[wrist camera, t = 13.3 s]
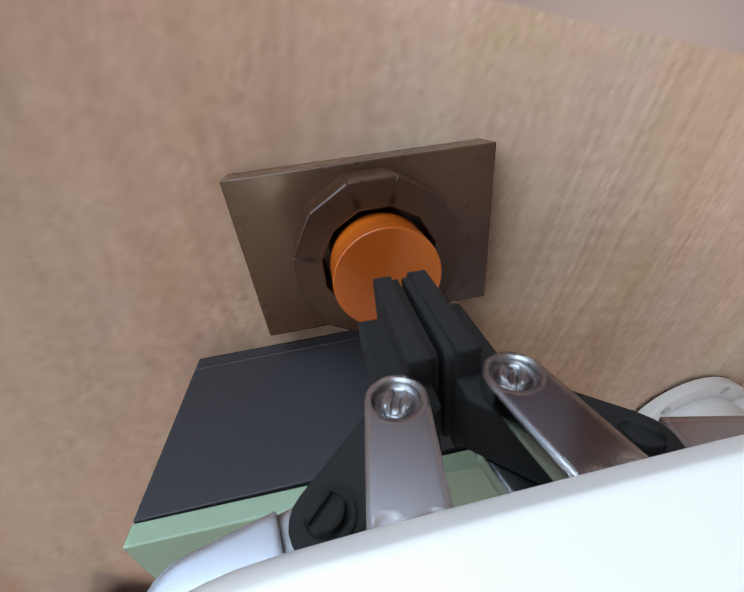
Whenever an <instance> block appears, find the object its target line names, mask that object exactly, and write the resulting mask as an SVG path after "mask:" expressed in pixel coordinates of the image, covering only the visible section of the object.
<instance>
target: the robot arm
mask: <svg viewBox="0 0 744 592" xmlns="http://www.w3.org/2000/svg"><path fill="white" fill-rule="evenodd" d="M401 284H402V287H401V285H400V283H399V281H398V279H395V280H392V278H391V277H390V276H387V277H381V278H375V279H373V288H374V296H375V304H376V313H377V319H374V320H369V321H363V322H358V329H359V335H360V342H361V347H362V353H363V358H364V363H365V367H366V372H367V376H368V380H369V384H370V387H369V389H368V390H367V392H366V395H365V401H364V406H365V416H364V417H363V418H362V419H361V421H360V422H359V423H358V424H357V426H356V427H355V428H354V429H353V430H352V432H351V433H350V434H349V435H348V437H347V438H346V439H345V440H344V442H343V443H342V444H341V445H340V447H339V448H338V449H337V450H336V452H335V453H334V454H333V455H332V457H331V458H330V459H329V460H328V462H327V463H326V464H325V465H324V467H323V468H322V469H321V470H320V472H319V473H318V474H317V475H316V476H315V478H314V479H313V480H312V481H311V483H310V484H309V485H308V486H307V488H306V489H305V490H304V491H303V493H302V494H301V495H300V496H299V498H298V500H297V501H296V503H295V505H294V506H293V508H291V509H289V510H287V511H285V512H283V513H281V514H279V515H277V513H276V511H274V512H272V513H270V514H268V515H266V516H264V517H262V518H260V519H258V520H256V521H254V522H252V523H250V524H248V525H245V526H243V527H241V528H239V529H237V530H235V531H233V532H231V533H229V534H227V535H225V536H223V537H221V538H219V539H217V540H215V541H213V542H211V543H209V544H207V545H205V546H203V547H201V548H199V549H197V550H195V551H193V552H191V553H189V554H187V555H185V556H183V557H181V558H179V559H178V560H176V561H175V562H173V563H172V564H170V565H169V566H167V567H166V568H165V569H164V570H163V571H162V572H161V573H160V575H159V576H158V577H157V578H156V579H155V580H154V581H153V583H152V584H151V586H150V588H149V590H148V591H147V592H744V388H743V387H742V386H740V385H739V384H737V383H736V382H734V381H732V380H730V379H728V378H724V377H705V378H701V379H696V380H692V381H689V382H687V383H684V384H681V385H679V386H677V387H674V388H672V389H670V390H668V391H666V392H665V393H663V394H661V395H659V396H658V397H656V398H654V399H653V400H652V401H650V402H649V403H647V404H646V405H645V406H643V407H642V408H641V409H640V410H639V411H637V412H635V411H632V410H629V409H626V408H623V407H620V406H617V405H614V404H611V403H608V402H604V401H601V400H598V399H595V398H592V397H589V396H586V395H583V394H580V393H577V392H574V391H571V390H570V389H569V388H568V387H567V386H565V385H564V384H563V383H562V382H561V381H560V380H558V379H557V378H556V377H555V376H554V375H553V374H551V373H550V372H549V371H548V370H547V369H546V368H544V367H543V366H542V365H541V364H540V363H538V362H537V361H536V360H534V359H533V358H531V357H528V356H526V355H524V354H520V353H515V352H500V353H496V351H495V350H494V349H493V348H492V346H491V345H490V344H489V342H488V341H487V340H486V338H485V337H484V336H483V335H482V333H481V332H480V331H479V329H478V328H477V327H476V326H475V324H474V323H473V322H472V320H471V319H470V318H469V316H468V315H467V314H466V313H465V311H464V310H463V309H462V307H461V306H460V305H459V304H452V305H450V304H449V302H448V301H447V299H446V298H445V297H444V295H443V294H442V293H441V291H440V290H439V288H438V287H437V286H436V284H435V283H434V282H433V280H432V279H431V277H430V276H429V275H428V273H427V272H426V271H425V270H420V271H414V272H409V273H407V277H406V278H402V280H401ZM441 434H442V436H443V437H447V436H449V437H450V439H451V442H452V444H453V446H454V448H456V447H460V446H464V448H466V449H468V450H470V451H472V452H474V453H475V458H476V460H477V462H478V464H479V466H480V467H481V469H482V470H483V472H484V473H485V475H486V476H487V478H488V479H489V481H490V483H491V484H492V486H493V487H494V489H495V490H496V492H497V493H498V495H499V496H496V497H492V498H488V499H485V500H481V501H477V502H473V503H469V504H465V505H462V506H458V507H454V508H453V503H452V499H451V494H450V490H449V485H448V481H447V477H446V472H445V468H444V463H443V459H442V455H441Z"/></svg>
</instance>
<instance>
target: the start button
mask: <svg viewBox="0 0 744 592" xmlns="http://www.w3.org/2000/svg"><path fill="white" fill-rule="evenodd" d="M330 270H331V276H332V283H333V289H334V293H335V297H336V299H337V301H338V303H339V305H340V306H341V308H342V309H343V310H344V311H345V312H346V313H347V314H348V315H349V316H350V317H352V318H353V319H355V320H357V321H359V322H363V321H369V320H374V319H377V313H376V304H375V296H374V288H373V279H375V278H381V277H387V276H390V277H391V278H392V280H395V279H398V281H399V283H400V285H401V287H402V284H401V280H402V278H406V277H407V273H409V272H414V271H420V270H425V271H426V272H427V273H428V275H429V276H430V277H431V279H432V280H433V282H434V283H435V284H436V286H437V287H439V285H440V280H441V262H440V258H439V255H438V253H437V251H436V249H435V247H434V246H433V245H432V243H431V242H430V241H429V240H428V239H427V238H426V237H425V236H424V234H423V233H422V232H421V231H420V230H419V229H418V228H417V227H416V226H415V225H414V224H413V223H412V222H411V221H409V220H408V219H406V218H404V217H402V216H399V215H396V214H392V213H374V214H369V215H366V216H363V217H361V218H359V219H357V220H355V221H353V222H352V223H351V224H349V225H348V226H347V227H346V228H345V229H344V230H343V231H342V232H341V233H340V234H339V236H338V237H337V239H336V241H335V243H334V245H333V248H332V251H331V255H330Z"/></svg>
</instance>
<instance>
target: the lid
mask: <svg viewBox="0 0 744 592" xmlns="http://www.w3.org/2000/svg"><path fill="white" fill-rule="evenodd" d="M442 459H443V463H444V468H445V472H446V477H447V481H448V485H449V490H450V494H451V499H452V503H453V508H454V507H458V506H462V505H465V504H469V503H473V502H477V501H481V500H485V499H488V498H492V497H496V496H499V495H498V493H497V492H496V490H495V489H494V487H493V486H492V484H491V483H490V481H489V479H488V478H487V476H486V475H485V473H484V472H483V470H482V469H481V467H480V466H479V464H478V462H477V460H476V458H475V453H474V452H472V451H470V450H465V451H461V452H456V453H452V454H447V455H443V456H442ZM306 488H307V486H303V487H299V488H294V489H290V490H285V491H281V492H276V493H272V494H267V495H263V496H258V497H254V498H249V499H245V500H240V501H236V502H231V503H227V504H222V505H218V506H213V507H209V508H204V509H200V510H195V511H191V512H186V513H182V514H177V515H173V516H168V517H164V518H159V519H154V520H150V521H145V522H141V523H136V524H133V525H132V527H131V529H130V532H129V534H128V537H127V539H126V541H125V544H124V546H123V549H124V550H125V551H126V552H127V553H128V554H129V555H130V556H131V557H132V558H133V559H134V560H136V561H137V562H138V563H139V564H140V565H141V566H142V567H143V568H144V569H145V570H146V571H147V572H148V573H149V574H150V575H152V576H153V577H154V578H155V579H156V578H157V577H158V576H159V575H160V573H161V572H162V571H163V570H164V569H165V568H166V567H167V566H169V565H170V564H172V563H173V562H175V561H176V560H178V559H179V558H181V557H183V556H185V555H187V554H189V553H191V552H193V551H195V550H197V549H199V548H201V547H203V546H205V545H207V544H209V543H211V542H213V541H215V540H217V539H219V538H221V537H223V536H225V535H227V534H229V533H231V532H233V531H235V530H237V529H239V528H241V527H243V526H245V525H248V524H250V523H252V522H254V521H256V520H258V519H260V518H262V517H264V516H266V515H268V514H270V513H272V512H274V511H276V513H277V515H279V514H281V513H283V512H285V511H287V510H289V509H291V508H293V506H294V505H295V503H296V501H297V500H298V498H299V496H300V495H301V494H302V493H303V491H304V490H305V489H306Z"/></svg>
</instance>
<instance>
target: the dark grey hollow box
mask: <svg viewBox="0 0 744 592" xmlns="http://www.w3.org/2000/svg"><path fill="white" fill-rule="evenodd" d="M369 387H370V384H369V380H368V376H367V372H366V367H365V363H364V358H363V353H362V347H361V342H360V335H359V332H356V331H346V332H341V333H336V334H331V335H325V336H320V337H315V338H310V339H305V340H299V341H294V342H289V343H284V344H278V345H273V346H268V347H263V348H257V349H252V350H247V351H242V352H236V353H231V354H226V355H221V356H216V357H210V358H205V359H200V360H199V363H198V365H197V367H196V370H195V372H194V375H193V377H192V380H191V382H190V384H189V387H188V389H187V392H186V394H185V397H184V399H183V401H182V404H181V406H180V409H179V411H178V414H177V416H176V419H175V421H174V423H173V426H172V428H171V431H170V433H169V436H168V438H167V441H166V443H165V445H164V448H163V450H162V453H161V455H160V458H159V460H158V462H157V465H156V467H155V470H154V472H153V475H152V477H151V480H150V482H149V484H148V487H147V489H146V492H145V494H144V497H143V499H142V502H141V504H140V506H139V509H138V511H137V514H136V516H135V519H134V523H135V524H136V523H141V522H145V521H150V520H154V519H159V518H164V517H168V516H173V515H177V514H182V513H186V512H191V511H195V510H200V509H204V508H209V507H213V506H218V505H222V504H227V503H231V502H236V501H240V500H245V499H249V498H254V497H258V496H263V495H267V494H272V493H276V492H281V491H285V490H290V489H294V488H299V487H303V486H308V485H309V484H310V483H311V481H312V480H313V479H314V478H315V476H316V475H317V474H318V473H319V472H320V470H321V469H322V468H323V467H324V465H325V464H326V463H327V462H328V460H329V459H330V458H331V457H332V455H333V454H334V453H335V452H336V450H337V449H338V448H339V447H340V445H341V444H342V443H343V442H344V440H345V439H346V438H347V437H348V435H349V434H350V433H351V432H352V430H353V429H354V428H355V427H356V426H357V424H358V423H359V422H360V421H361V419H362V418H363V417H364V416H365V406H364V401H365V395H366V392H367V390H368V389H369ZM465 450H468V449H466V448H464V446H460V447H456V448H454V446H453V444H452V442H451V439H450V437H449V436H447V437H443V436H442V434H441V455H442V456H443V455H447V454H452V453H456V452H461V451H465Z"/></svg>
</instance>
